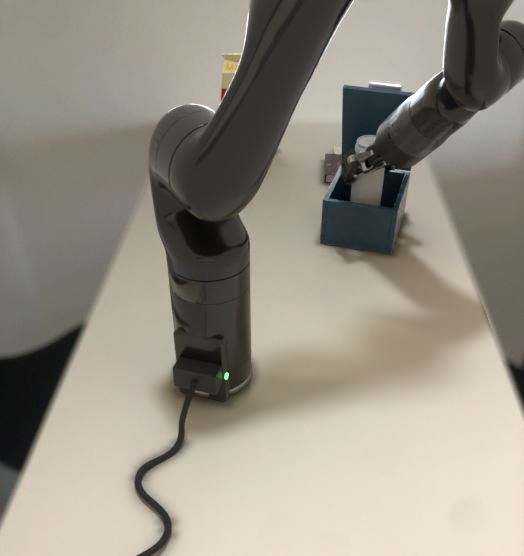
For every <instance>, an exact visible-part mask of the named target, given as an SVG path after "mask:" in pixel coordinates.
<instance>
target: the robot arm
mask: <svg viewBox="0 0 524 556" xmlns="http://www.w3.org/2000/svg"><path fill="white" fill-rule="evenodd" d="M354 1H355V0H249V4H248V10H247V11H248V12H247V19H246V20H247V21H246V28H245V34H244V36H245V37H244V43H243V48H242V51H241V53H242V55H241V59H240V62H239V65H238V67H237V70H236V73H235V75H234V77H233V80H232V82H231V84H230V86H229V88H228V89H227V91H226V93H225V95H224V97H223V99H222V101H221V103H220V102H219V105H218V106H217V108H216V110H214V109H212V108H210V107H209V106H205V105H203V104H198V103H187V104H181V105H178V106H176V107H173V108H172V109H170V110H168V111H167V112H166V113H164V114H163V115H162V116H161V117H160V119H159V120H157V123H156V124H155V126H154V128H153V130H152V132H151V135H150V138H149V141H148V147H147V169H148V178H149V185H150V192H151V199H152V204H153V205H152V206H153V212H154V218H155V224H156V229H157V232H158V235H159V238H160V241H161V243H162V245H163V248H164V251H165V260H166V267H167V276H168V286H169V296H170V307H171V314H172V323H173V334H172V335H173V346H174V354H175V363H174V364H173V366H172V375H173V376H172V377H173V384H174V386H175V387H178V390H179V392H181V393H185V394H186V396H185V398H184V401H183V405H182V408H181V411H180V415H179V419H178V430H177V431H178V432H177V438H176V440H175V443H174V444H173V445H172V447H171V448H170V449H169V450H167V451H166V452H164V453H163V454H161V455H158V456H157V457H155V458H153V459H150V460H148V461H146V462H145V463H143V464H142V465H141V466H140V467H139V468H138V469H137V471H136V474H135V476H134V487H135V488H134V489H135V490H136V492H137V494H138V495H139V496H140V497H141V499H143V501H145V503H147V504H148V505H149V506H150V507H152V509H153V510H155V511H156V512H157V513H158V515H160V517H161V518H162V520H163V523H164V529H163V533H162V535H161V537H160V538H159V540H158V541H157V542H156V543H154V544H153V545H152V546H150V547H149V548H147V549H145V550H144V551H142V552H140V553H138V554H136V555H135V556H153V555H154V554H157V553H158V552H159V551H160V550H161V549H162V548H163V547H164V546H165V545H166V544H167V542H168V540H169V538H170V536H171V533H172V527H173V526H172V525H173V524H172V519H171V517H170V515H169V513H168V511H167V510H166V509H165V508H164V507H163V506H162V505H161V504H160V503H158V502H157V500H155V499H154V498H153V497H151V495H150V494H148V492H147V491H146V490H145V489H144V487H143V484H142V477H143V475H144V474H145V472H147V471H148V470H149V469H151V468H152V467H154V466H156V465H158V464H160V463H162V462H165V461H167V460H168V459H170V458H172V456H174V455H175V454H176V453H177V452H178V451H179V450H180V448H181V447H182V444H183V443H184V439H185V433H186V430H185V429H186V420H187V415H188V412H189V408H190V405H191V402H192V399H193V397H194V395H195V396H198V397H202V398H207V399H211V400H216V401H220V402H227V401H228V399H229V397H230V396H232V395H234V394H237V393H239V392H240V391H242V390H244V388H246V386H247V385H249V384H250V381H251V379H252V377H253V362H252V313H251V312H252V311H251V310H252V309H251V307H252V305H251V304H252V303H251V302H252V301H251V300H252V299H251V241H250V235H249V232H248V231H247V228H246V226H245V224H244V222H243V221H242V219H241V216H240V213H241V212H242V211H244V210H245V209H246V207H248V206H249V204H250V203H251V202H252V200H253V199H254V198H255V196H256V195H257V194H258V191H259V190H260V188H261V186H262V184H263V182H264V180H265V178H266V176H267V174H268V172H269V169H270V168H271V165H272V163H273V161H274V158H275V155H276V154H277V151H278V149H279V146H280V145H281V142H282V140H283V137H284V135H285V133H286V131H287V128H288V126H289V123H290V121H291V119H292V117H293V114H294V113H295V110H296V108H297V106H298V105H299V102H300V100H301V98H302V96H303V93H304V92H305V90H306V88H307V86H308V84H309V83H310V81H311V79H312V78H313V75H314V73H315V71H316V69H317V67H318V65H319V63H320V62H321V60H322V58H323V56H324V54H325V52H326V50H327V48H328V46H329V45H330V43H331V40H332V38H333V37H334V35H335V34H336V31H337V30H338V28H339V26H340V24H341V23H342V21H343V19H344V18H345V16H346V15H347V13H348V11H349V9H350V8H351V6H352V4H353V3H354ZM514 2H515V0H447V3H448V4H447V12H446V18H445V27H444V29H445V30H444V43H443V51H442V52H443V53H442V70H441V71H440V72H438V73H437V74H436V75H434V76H433V77H431V78H430V79H429V80H428V81H427V82H425V83H424V84H423V85H422V86H421V87H420V88H419V89H418V90H417V91H416V92H414V93H415V94H414V95H412V96H410V97H409V98H408V99H406V100H405V101H404V102H403V103H402V104H401V105H400V106H399V107H398V108H397V109H396V110H395V111H394V112H393V113H391V114H390V115H389V116H388V117H387V118H386V119H385V120H384V121H383V122H382V123H381V125H380V126H379V128H378V130H377V134H376V138H375V141H373V142H372V143H371V145H369V146H368V147H366V148H365V149H364V150H362V151H360V152H359V153H358V154H357V153H356V151H355V150H354V149H350V150H348V151H347V152H346V154H345V156H344V158H343V160H342V161H341V163H340V164H341V167H342V169H343V173H342V177H343V180H344V183H346V185H351V184H352V183H354V182H355V181H356V180H357V179H358V178H359V177H360V176H362V175H364V174H372V173H374V172H375V171H377V170H379V169H381V168H385V171H384V175H385V174H386V173H388V172H389V171H390V170H397V169H396V168H409V167H415V166H416V165H418V163H420V162H421V161H423V160H424V159H425V158H427V157H428V156H429V155H430V154H432V153H433V152H435V151H436V150H437V149H438V148H439V147H441V146H442V145H444V143H446V141H447V140H448V139H450V137H451V136H452V135H453V134H455V133H456V132H458V131H459V130H461V128H463V127H464V126H466V124H467V123H469V122H470V121H471V120H472V119H473V118H474V117H475V116H476V115H477V114H478V113H479V112H480V111H481V112H482V111H484V110H486V109H487V110H488V109H489V108H490V107H492V106H494V105H495V104H496V103H498V102H499V101H500V100H501V99H502V98H503V97H505V96H506V95H507V94H508V93H509V92H510V91H512V90H513V89H514V88H515V87H517V86H518V85H519V84H520V83H521V82H522V81H523V80H524V22H521V21H518V20H514V19H504V18H505V15H506V14H507V12H508V11H509V9H510V8H511V7H512V5H513V3H514ZM360 163H361V165H360ZM371 165H372V166H373V167H371ZM361 166H362V170H360V168H361Z"/></svg>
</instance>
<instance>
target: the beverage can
mask: <svg viewBox="0 0 524 556" xmlns="http://www.w3.org/2000/svg"><path fill="white" fill-rule="evenodd" d="M375 138H376V135H365V136H361V137H359V138H358V139H357V143H356V145H355V151H356V153H357V154H358V153H359V152H360V151H362V150H364V149H365V148H366V147H368V146H369V145H371V143H372V142H373V141H375ZM360 165H361V163H360ZM371 167H373V166H372V165H371ZM360 170H362V166H361V168H360ZM384 171H385V168H381V169H379V170H377V171H375V172H374V173H372V174H364V175H362V176H360V177H359V178H358V179H357V180H356V181H355V182H354V183H352V188H351V199H350V202H355V203H362V204H368V205H375V206H380V203H381V195H382V187H383V179H384Z"/></svg>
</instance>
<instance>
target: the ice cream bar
mask: <svg viewBox="0 0 524 556" xmlns="http://www.w3.org/2000/svg"><path fill="white" fill-rule="evenodd" d="M341 161H342V145H336V146H335V145H334V147H333V153H325V154H324V174H323V175H324V176H323V178H324V179H323V180H324V181H323V182H324V183H327V184H331V183H332V181H333V179H334V177H335V175H336V173H337V171H338V170H339V168H340V166H341V164H340V163H341Z"/></svg>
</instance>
